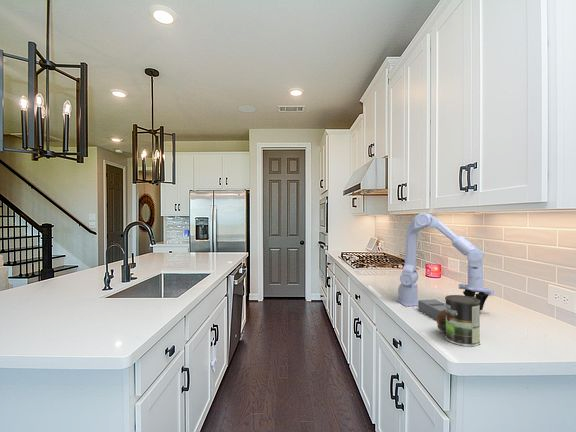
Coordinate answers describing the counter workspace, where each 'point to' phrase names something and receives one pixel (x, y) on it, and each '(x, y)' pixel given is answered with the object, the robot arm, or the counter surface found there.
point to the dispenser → (431, 307)
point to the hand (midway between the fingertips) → (475, 308)
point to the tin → (442, 320)
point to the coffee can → (463, 320)
